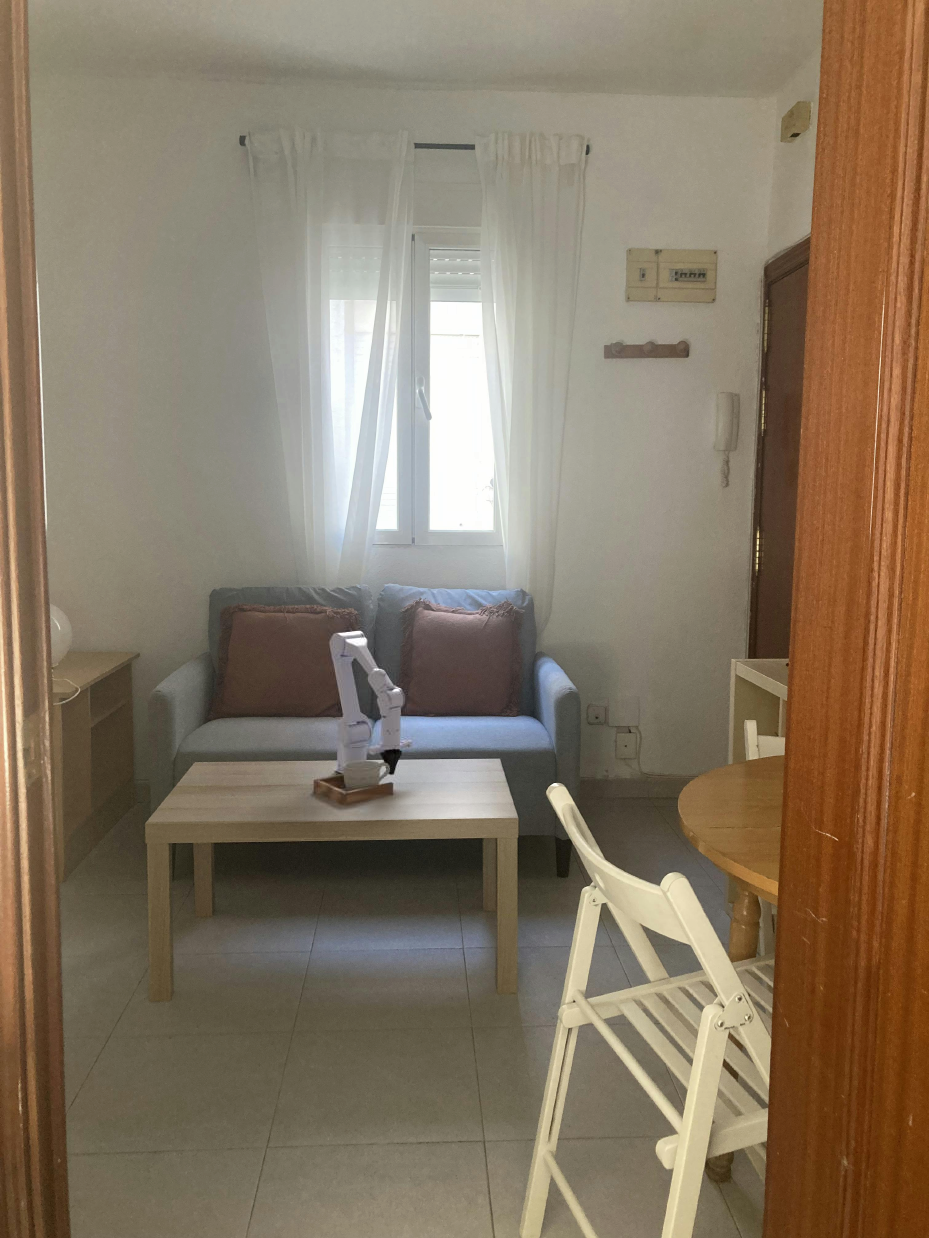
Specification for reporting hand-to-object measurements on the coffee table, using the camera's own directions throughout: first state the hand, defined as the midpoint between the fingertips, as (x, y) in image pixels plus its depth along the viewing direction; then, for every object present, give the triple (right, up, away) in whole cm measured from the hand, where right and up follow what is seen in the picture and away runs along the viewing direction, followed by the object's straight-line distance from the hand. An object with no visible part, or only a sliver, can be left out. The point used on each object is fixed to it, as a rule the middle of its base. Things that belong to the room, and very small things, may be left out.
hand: (390, 773), depth 281 cm
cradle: (-9, -4, -7) cm, 13 cm away
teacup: (-7, -4, -5) cm, 9 cm away
